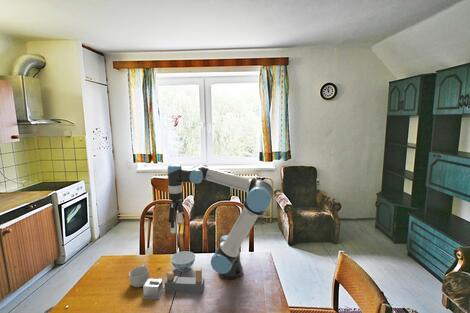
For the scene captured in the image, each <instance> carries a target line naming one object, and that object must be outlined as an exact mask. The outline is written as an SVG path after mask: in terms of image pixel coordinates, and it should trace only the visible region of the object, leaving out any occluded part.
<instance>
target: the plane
mask: <svg viewBox="0 0 470 313" xmlns="http://www.w3.org/2000/svg"><path fill="white" fill-rule="evenodd" d="M194 272H195V273H194V274H195V277H185V276H178V275H175V274H174V271H171V270H170V271H167V273H166V278H165V281H164V292H174V293H175V292H177V293H181V292H182V293H197V294H198V293H201V294H202V293H203V292H204V288H205V277H203V269H202V267H195V270H194Z"/></svg>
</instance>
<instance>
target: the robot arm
mask: <svg viewBox="0 0 470 313" xmlns="http://www.w3.org/2000/svg"><path fill="white" fill-rule="evenodd" d="M166 175H167V182H168V184H167V185H168V186H167V188H168V199H169V200H170V201H171V203H170V204H169V212H168V221H167V222H168V223H169V226H170V234H177V230H176V229H177V228H176V216H177V224H183V222H184V221H183V220H184V219H183V213H184V212H185V211H184V206H183V201H182V199H183V192H182V191H183V183H185V184H200V183H202V182H203V180H205V181H208V182H213V183H216V184H220V185H223V186H226V187H229V188H233V189H236V190H240V191H242V192H245V193H247V195H246V198H245V200H244V201H243V203H242V205H243V208H242V210H241V212H240V214H239V215H238V218H237V220H236V221H235V223H234V224H233V226H232V228H231V230H230V232H229V233H228V234H224V235H222V236H221V237H220V239H219V240H220V243H219V245H218V247H217V249H216V250H215V252H214V254H213V255H212V257H211V260H210V265H211V268H212V269H213V270H214V271H215V272H217V273H218V275H219V277H220V278H222V279H225V280H236V279H238V278H240V277H242V275H243V274H244V272H243V271H244V270H243V266H242V263H241V258H240V257H241V246H242V244H243V242H245V239H246V237H247V236H248V234H249V233H250V231H251V229H252V227H253V226H254V224H255V222H256V220H257V219H258V217H261V216H263V215H264V213H265V212H266V210H267V209H268V208H269V207H270V205H271V202H272V199H273V195H274V189H273V186H272V185H271V184H270V183H269V182H267V181H264V180H261V179H257V178H255V177H254V178H253V177H251V178H247V177H245V176H241V175H236V174H233V173H230V172H226V171H222V170H220V169H215V168H212V167H209V166H208V165H206V164H205V163H202V164H198V165H197V166H194V167H192V168H182V165H181V164H177V163H176V164H169V165H168V166H167V174H166Z"/></svg>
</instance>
